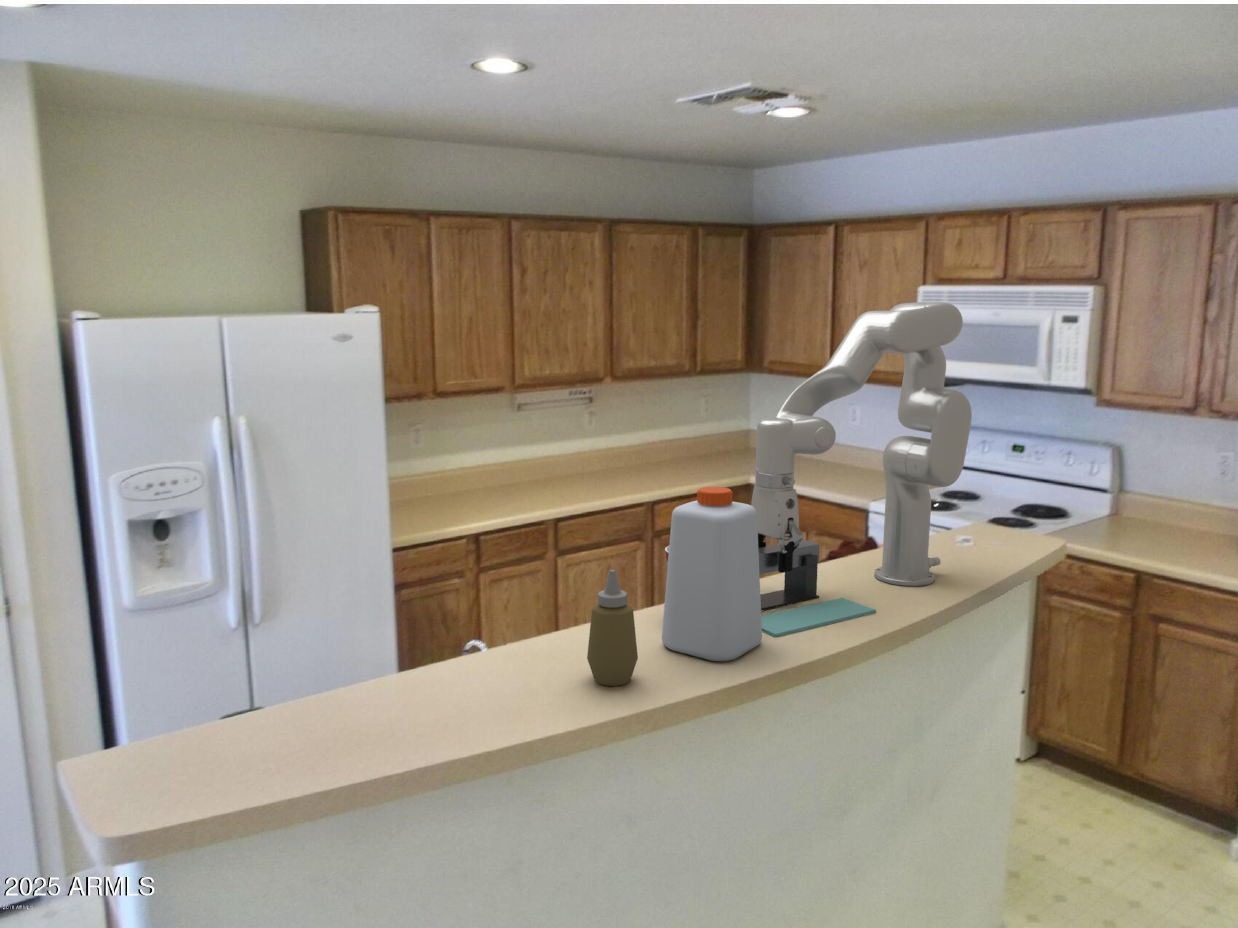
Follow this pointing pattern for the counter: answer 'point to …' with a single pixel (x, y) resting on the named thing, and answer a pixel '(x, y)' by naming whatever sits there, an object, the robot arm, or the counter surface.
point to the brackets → (795, 586)
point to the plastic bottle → (713, 578)
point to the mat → (812, 616)
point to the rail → (771, 553)
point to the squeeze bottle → (612, 636)
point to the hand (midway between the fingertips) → (771, 566)
